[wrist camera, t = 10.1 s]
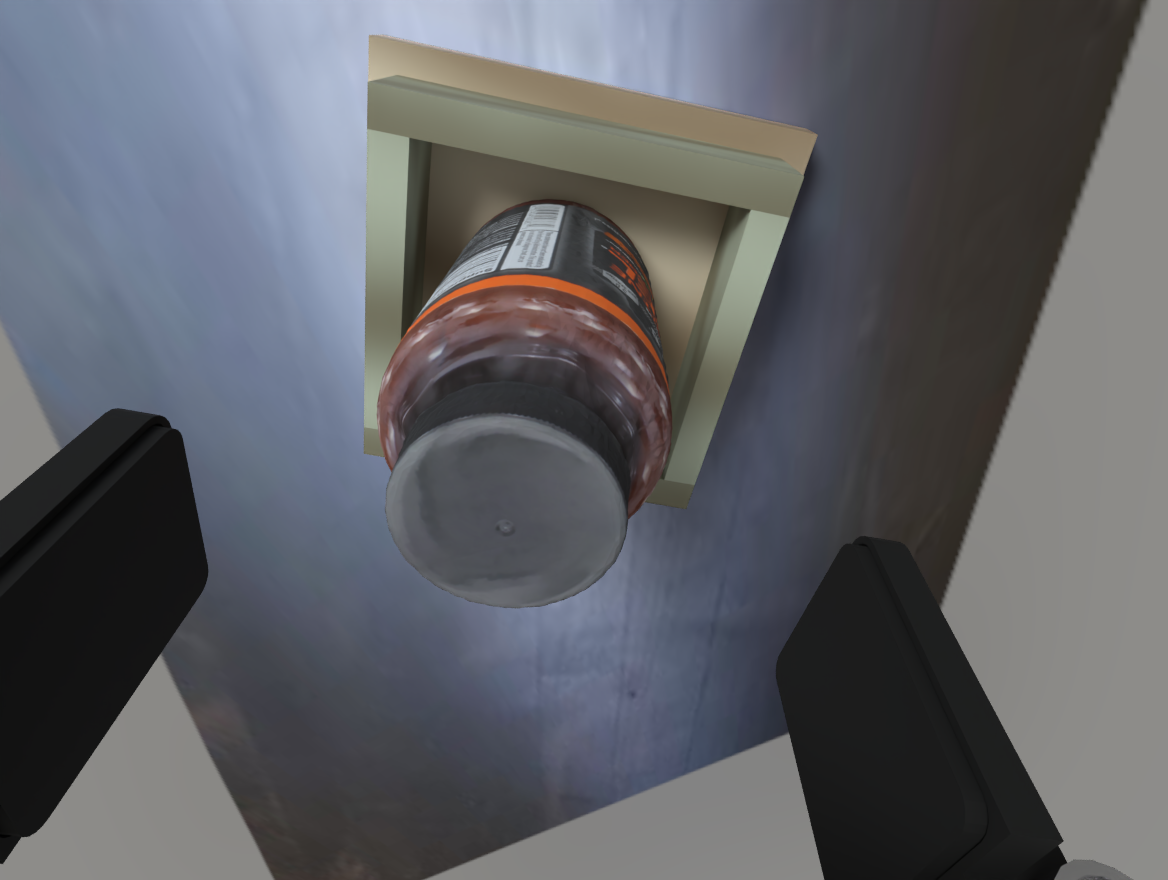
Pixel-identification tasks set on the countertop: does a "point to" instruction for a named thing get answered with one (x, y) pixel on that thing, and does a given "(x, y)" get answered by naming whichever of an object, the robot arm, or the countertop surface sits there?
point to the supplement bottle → (527, 409)
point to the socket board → (583, 175)
